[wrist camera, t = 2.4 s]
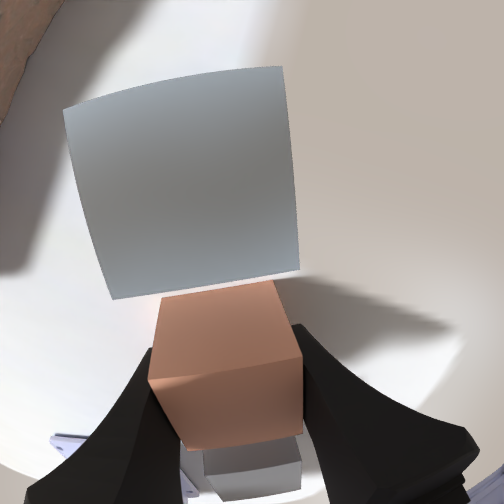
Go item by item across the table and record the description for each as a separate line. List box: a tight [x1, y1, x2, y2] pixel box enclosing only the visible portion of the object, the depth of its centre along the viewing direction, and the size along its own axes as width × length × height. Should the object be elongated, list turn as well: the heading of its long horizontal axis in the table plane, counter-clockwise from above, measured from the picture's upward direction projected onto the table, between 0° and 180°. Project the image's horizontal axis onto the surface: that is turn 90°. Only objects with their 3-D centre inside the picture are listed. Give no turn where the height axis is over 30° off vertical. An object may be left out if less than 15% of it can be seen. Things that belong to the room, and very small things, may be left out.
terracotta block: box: [148, 280, 303, 451], centre depth 10 cm, size 4×4×4 cm
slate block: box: [63, 66, 300, 300], centre depth 7 cm, size 4×4×4 cm
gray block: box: [203, 435, 302, 502], centre depth 13 cm, size 4×4×4 cm
